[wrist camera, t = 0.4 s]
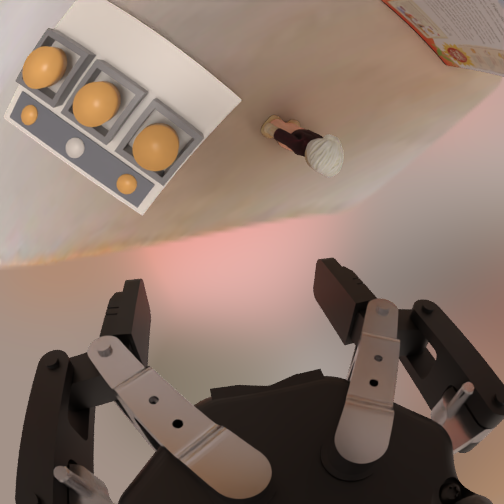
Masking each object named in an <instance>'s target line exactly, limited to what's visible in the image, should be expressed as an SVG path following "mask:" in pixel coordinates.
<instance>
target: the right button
mask: <svg viewBox="0 0 504 504" xmlns="http://www.w3.org/2000/svg"><path fill="white" fill-rule="evenodd" d="M132 150H133V156H134V159H135V160H136V162H137V163H138V164H139V165H140V166H141V167H142V168H144V169H146V170H149V171H160V170H164V169H166V168H167V167H169V166H170V165H171V164H172V163H173V162H174V161H175V159H176V157H177V154H178V150H179V137H178V134H177V133H176V131H175V130H174V129H173V128H172V127H171V126H169V125H167V124H164V123H154V124H151V125H148V126H147V127H145V128H144V129H143V130H142V131H141V132H140V133H139V134H138V136H137V137H136V138H135V140H134V143H133V149H132Z"/></svg>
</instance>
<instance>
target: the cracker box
mask: <svg viewBox="0 0 504 504" xmlns="http://www.w3.org/2000/svg"><path fill="white" fill-rule="evenodd" d="M382 1H383V2H384V3H385V4H387V5H388V6H389V7H390V8H391V9H392V10H394V11H395V12H396V13H397V14H398V15H399V16H400V17H401V18H402V19H403V20H404V21H406V22H407V23H408V24H409V25H410V26H411V27H412V28H413V29H414V30H415V31H416V32H417V33H418V34H419V35H420V36H421V37H422V38H423V39H424V40H425V41H426V43H427V44H428V45H429V46H430V47H431V48H432V49H433V50H434V51H435V52H436V53H437V55H438V56H439V57H440V58H441V59H442V60H443V62H444V63H445V64H446V65H448V66H454V67H460V68H466V69H471V70H476V71H481V72H486V73H490V74H495V75H499V76H503V77H504V0H382Z"/></svg>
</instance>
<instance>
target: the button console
mask: <svg viewBox="0 0 504 504" xmlns="http://www.w3.org/2000/svg"><path fill="white" fill-rule="evenodd" d="M43 46H48V47H58V48H60V49H62V50H63V51H64V52H65V54H66V56H67V68H66V71H65V73H64V75H63V77H62V78H61V79H60V80H59V81H58V82H57V83H56V84H54V85H53V86H50V87H45V88H40V89H32V88H30V87H28V86H27V85H26V84H25V82H24V80H23V75H22V71H23V68H22V70H21V72H20V74H19V75H18V77H17V79H16V82H17V83H19V86H18V88H17V90H16V92H15V94H14V96H13V98H12V100H11V102H10V104H9V106H8V108H7V111H6V113H5V115H4V118H5V119H6V120H8V121H9V122H10V123H12V124H13V125H14V126H16V127H17V128H18V129H20V130H21V131H22V132H24V133H25V134H26V135H28V136H29V137H30V138H32V139H33V140H35V141H36V142H37V143H39V144H40V145H41V146H43V147H44V148H46V149H47V150H48V151H50V152H51V153H53V154H54V155H55V156H57V157H58V158H60V159H61V160H62V161H64V162H65V163H67V164H68V165H69V166H71V167H72V168H74V169H75V170H76V171H78V172H79V173H81V174H82V175H84V176H85V177H86V178H88V179H89V180H91V181H92V182H94V183H95V184H97V185H98V186H99V187H101V188H102V189H104V190H105V191H107V192H108V193H110V194H111V195H113V196H114V197H115V198H117V199H118V200H120V201H121V202H123V203H124V204H126V205H127V206H129V207H130V208H132V209H133V210H135V211H136V212H138V213H139V214H141V215H143V214H144V213H145V211H146V210H147V209H148V208H149V206H150V205H151V204H152V202H153V201H154V200H155V198H156V197H157V196H158V195H159V193H160V192H161V191H162V190H163V188H164V187H165V186H166V185H167V183H168V182H169V181H170V180H171V178H172V177H173V176H174V175H175V174H176V172H177V171H178V170H179V169H180V168H181V166H182V165H183V164H184V163H185V162H186V161H187V159H188V158H189V157H190V156H191V155H192V154H193V152H194V151H195V150H196V149H197V148H198V147H199V146H200V144H201V143H202V142H203V141H204V140H205V139H206V138H207V137H208V136H209V134H210V133H211V132H212V131H213V130H214V129H215V128H216V127H217V126H218V125H219V124H220V123H221V121H222V120H223V119H224V118H225V117H226V116H227V115H228V114H229V113H230V112H231V111H232V110H233V109H234V108H235V107H236V106H237V105H238V104H239V103H240V102H241V101H242V100H241V99H240V98H239V97H238V96H237V95H236V94H235V93H233V92H232V91H231V90H230V89H229V88H228V87H226V86H225V85H224V84H223V83H222V82H220V81H219V80H218V79H217V78H216V77H214V76H213V75H212V74H211V73H210V72H208V71H207V70H206V69H205V68H203V67H202V66H201V65H200V64H198V63H197V62H196V61H194V60H193V59H192V58H191V57H189V56H188V55H187V54H185V53H184V52H183V51H181V50H180V49H179V48H177V47H176V46H175V45H173V44H172V43H171V42H169V41H168V40H166V39H165V38H164V37H162V36H161V35H159V34H158V33H157V32H155V31H154V30H152V29H151V28H149V27H148V26H146V25H145V24H143V23H142V22H140V21H139V20H137V19H136V18H134V17H133V16H131V15H130V14H128V13H127V12H125V11H123V10H122V9H120V8H119V7H117V6H115V5H114V4H112V3H110V2H109V1H107V0H76V1H75V2H74V4H73V5H72V6H71V7H70V9H69V10H68V11H67V12H66V14H65V15H64V16H63V17H62V19H61V20H60V21H59V23H58V24H57V25H56V27H55V28H54V29H50V28H48V29H47V30H46V32H45V33H44V35H43V36H42V38H41V39H40V41H39V42H38V44H37V45H36V47H35V48H34V50H35V49H37V48H39V47H43ZM34 50H33V51H34ZM33 51H32V52H33ZM99 81H107V82H110V83H112V84H113V85H115V86H116V87H117V89H118V90H119V92H120V96H121V104H120V107H119V110H118V112H117V113H116V115H115V116H114V117H113V118H112V119H110V120H109V121H107V122H105V123H103V124H102V125H100V126H97V127H87V126H84V125H82V124H80V123H79V122H78V121H77V119H76V118H75V116H74V113H73V101H74V98H75V95H76V94H77V92H78V91H79V90H80V89H81V88H82V87H83V86H85V85H86V84H88V83H92V82H99ZM154 123H164V124H167V125H169V126H171V127H172V128H173V129H174V130H175V131H176V133H177V134H178V137H179V150H178V154H177V157H176V159H175V161H174V162H173V163H172V164H171V165H170V166H169V167H167V168H166V169H164V170H160V171H149V170H146V169H144V168H142V167H141V166H140V165H139V164H138V163H137V162H136V160H135V159H134V156H133V150H132V149H133V143H134V140H135V138H136V137H137V136H138V134H139V133H140V132H141V131H142V130H143V129H144V128H145V127H147V126H148V125H151V124H154Z"/></svg>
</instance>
